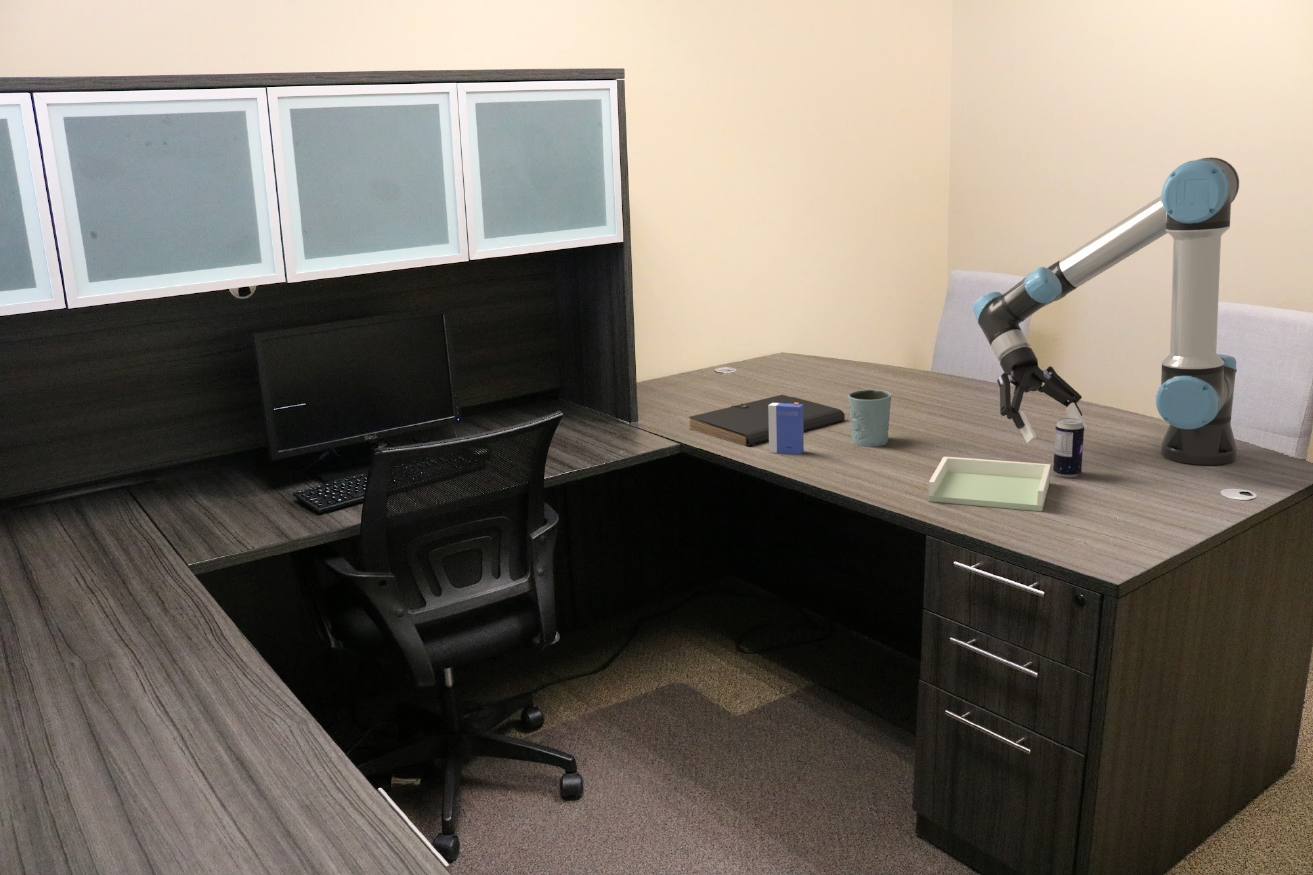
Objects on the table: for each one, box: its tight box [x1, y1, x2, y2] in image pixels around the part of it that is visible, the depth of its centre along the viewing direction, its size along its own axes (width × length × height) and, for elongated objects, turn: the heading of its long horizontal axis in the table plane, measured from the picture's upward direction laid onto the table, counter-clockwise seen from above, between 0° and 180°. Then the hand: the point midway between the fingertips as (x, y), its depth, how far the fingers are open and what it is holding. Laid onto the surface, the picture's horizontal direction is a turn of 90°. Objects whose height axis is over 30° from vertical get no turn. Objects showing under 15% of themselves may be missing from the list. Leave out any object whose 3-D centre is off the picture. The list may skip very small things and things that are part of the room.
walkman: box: [768, 403, 805, 455], centre depth 258 cm, size 8×3×12 cm, turn 66°
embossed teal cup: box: [847, 388, 892, 448], centre depth 263 cm, size 10×10×12 cm
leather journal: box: [688, 394, 846, 447], centre depth 284 cm, size 33×4×24 cm
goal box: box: [927, 456, 1052, 512], centre depth 225 cm, size 22×18×4 cm
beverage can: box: [1052, 417, 1085, 478], centre depth 232 cm, size 6×6×12 cm
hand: (1057, 435), depth 234 cm, fingers open, 13 cm apart
